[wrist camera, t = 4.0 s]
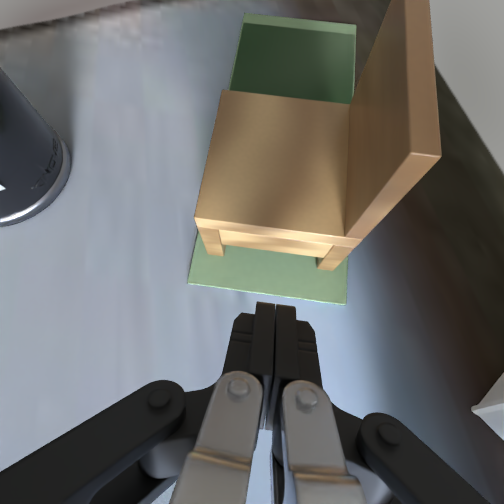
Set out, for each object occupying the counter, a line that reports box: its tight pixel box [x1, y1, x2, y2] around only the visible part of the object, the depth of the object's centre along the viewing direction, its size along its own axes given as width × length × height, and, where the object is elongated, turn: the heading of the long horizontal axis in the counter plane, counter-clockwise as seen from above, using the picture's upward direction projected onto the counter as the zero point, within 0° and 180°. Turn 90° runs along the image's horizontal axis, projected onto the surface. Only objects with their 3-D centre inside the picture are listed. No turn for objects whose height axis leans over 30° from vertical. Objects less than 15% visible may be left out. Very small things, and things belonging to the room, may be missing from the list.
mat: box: [187, 13, 356, 305], centre depth 26 cm, size 11×28×1 cm, turn 172°
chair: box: [194, 0, 442, 271], centre depth 17 cm, size 9×9×13 cm
